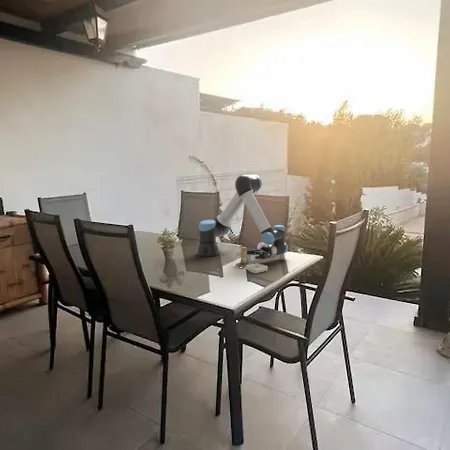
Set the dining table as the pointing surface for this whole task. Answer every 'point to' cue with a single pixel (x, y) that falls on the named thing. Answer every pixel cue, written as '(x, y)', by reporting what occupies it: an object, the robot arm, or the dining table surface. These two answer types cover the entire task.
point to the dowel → (243, 255)
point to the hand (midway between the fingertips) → (243, 256)
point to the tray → (251, 267)
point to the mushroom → (262, 245)
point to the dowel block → (242, 265)
